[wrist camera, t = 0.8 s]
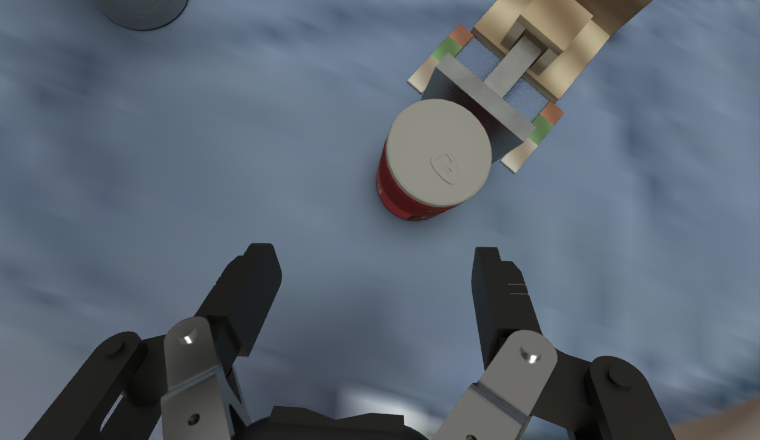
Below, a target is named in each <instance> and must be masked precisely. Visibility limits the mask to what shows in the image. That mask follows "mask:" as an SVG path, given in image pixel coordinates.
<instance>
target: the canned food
mask: <svg viewBox="0 0 760 440" xmlns="http://www.w3.org/2000/svg"><path fill="white" fill-rule="evenodd" d="M491 161H492V154H491V146H490V142H489V138H488V136H487V133H486V131H485V129H484V127H483V126H482V125H481V123H480V122H479V120H478V119H477V118H476V117H475V116H474V115H473V114H472V113H471V112H470V111H468V110H467V109H465V108H464V107H463V106H460V105H458V104H456V103H454V102H451V101H447V100H443V99H429V100H422V101H420V102H417V103H414V104H412V105H411V106H409V107H407V108H406V109H405V110H404V111H403V112H402V113H401V114H399V115H398V117H397V118H396V120H395V121H394V123H393V124H392V126H391V128H390V130H389V133H388V135H387V138H386V141H385V144H384V148H383V152H382V155H381V159H380V163H379V166H378V170H377V175H376V185H377V190H378V193H379V196H380V198H381V200H382V202H383V203H384V205H385V206H386V207H387V208H388V209H389V210H390V211H391V212H392V213H394V214H395V215H397V216H398V217H401V218H403V219H406V220H410V221H422V220H427V219H429V218H432V217H434V216H436V215H438V214H441V213H443V212H445V211H447V210H449V209H451V208H453V207H456V206H458V205H460V204H461V203H463V202H465V201H467V200H468V199H469V198H471V197H472V196H474V194H476V193H477V192H478V190H479V189H480V188H481V187H482V186H483V184H484V183H485V181H486V179H487V177H488V174H489V171H490V168H491Z"/></svg>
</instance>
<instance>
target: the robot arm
mask: <svg viewBox="0 0 760 440" xmlns="http://www.w3.org/2000/svg"><path fill="white" fill-rule="evenodd" d="M91 1H92V2H93V3H94V4H95V5H96V6H97V7H98V8H99V9H100V10H101V11H102V12H103V13H104V14H105V15H106V16H107V17H108V18H109V19H111V20H112V21H114V22H115V23H117V24H119V25H121V26H124V27H127V28H131V29H137V30H148V29H153V28H158V27H160V26H162V25H165V24H167V23H169V22H170V21H172V20H173V19H175V18H176V17H177V16H178V15H179V14H180V13H181V11H182V10H183V8H184V7H185V5H186V3H187V0H91ZM281 280H282V272H281V268H280V265H279V262H278V259H277V256H276V253H275V250H274V247H273V245H272V244H270V243H252V244H250V245H249V247H248V248H247V250H246V252H245V253H244V255H243V256H238V257H236V258H235V259H234V260H233V261H232V262H230V263H229V264H228V265H227V267H226V268H225V270H224V271H223V273H222V274H221V277H219V279H218V280H217V282H216V285H214V287H213V288H212V290H211V291H210V293H209V294H208V296H207V297H206V299H205V300H204V302H203V303H202V305H201V306H200V308H199V309H198V311H197V312H196V314H195V315H194V317H190V318H187V319H184V320H182V321H180V322H179V323H177V324H176V325H175V326H173V327H172V328H171V329H170V330H169V332H168V333H167V334H166V335H161V336H157V337H153V338H149V339H145V340H142V339H141V338H140V337H139V336H138V335H137V334H136V333H135V332H129V331H128V332H122V333H119V334H116V335H114V336H112V337H110V338H108V339H107V340H105V341H104V342H102V343H101V344H100V345H99V346H98V347H97V348H96V349H95V350H94V352H93V353H92V354H91V355H90V357H89V358H88V359H87V360H86V362H85V363H84V364H83V365H82V367H81V368H80V369H79V371H78V372H77V373H76V374H75V376H74V377H73V378H72V379H71V381H70V382H69V383H68V384H67V386H66V387H65V388H64V389H63V391H62V392H61V393H60V394H59V396H58V397H57V398H56V399H55V401H54V402H53V403H52V405H51V406H50V407H49V408H48V410H47V411H46V412H45V413H44V415H43V416H42V417H41V418H40V420H39V421H38V422H37V423H36V425H35V426H34V427H33V428H32V430H31V431H30V432H29V433H28V435H27V436H26V437H25V438H24V440H148V439H149V437H150V435H151V433H152V431H153V429H154V427H155V426H156V424H157V422H158V420H159V418H160V416H161V414H162V428H163V440H429V439H428V438H426V437H425V436H424V435H422V434H421V433H420V432H418V431H416V430H414V429H412V428H410V427H408V426H405V425H404V415H393V414H379V413H368V414H363V415H358V416H353V417H348V418H343V419H338V420H335V419H331V418H329V417H326V416H324V415H321V414H319V413H316V412H313V411H311V410H308V409H306V408H297V407H283V406H274V407H273V410H272V413H271V416H269V417H266V418H263V419H260V420H258V421H256V422H254V423H252V421H251V419H250V417H249V415H248V412H247V409H246V406H245V402H244V399H243V395H242V391H241V388H240V384H239V381H238V377H237V373H236V370H235V367H234V365H233V363H234V361H235V359H236V357H237V356H245V357H249V354H250V352H251V350H252V348H253V345H254V343H255V341H256V339H257V337H258V334H259V332H260V330H261V328H262V325H263V323H264V321H265V319H266V316H267V314H268V312H269V310H270V307H271V305H272V303H273V301H274V298H275V296H276V294H277V292H278V289H279V287H280V285H281ZM471 285H472V295H473V301H474V307H475V313H476V319H477V326H478V332H479V338H480V344H481V351H482V357H483V363H484V369H485V372H484V374H483V375H482V377H481V378H480V379H479V381H478V382H477V383H472V384H471V385H470V386H469V388H468V389H467V390H466V391H465V393H464V394H463V396H462V397H461V399H460V400H459V401H458V403H457V404H456V406H455V407H454V409H453V410H452V411H451V413H450V414H449V416H448V417H447V419H446V420H445V421H444V423H443V424H442V426H441V427H440V428H439V430H438V431H437V433H436V434H435V436H434V437H433V438H432V440H520V439H521V437H522V435H523V433H524V431H525V429H526V427H527V425H528V423H529V422H530V420H531V418H532V416H533V415H534V416H536V417H539V418H541V419H544V420H546V421H548V422H551V423H553V424H556V425H558V426H561V427H563V428H566V429H567V433H568V437H569V440H676V439H675V437H674V435H673V433H672V431H671V429H670V427H669V425H668V423H667V420H666V418H665V416H664V414H663V412H662V410H661V408H660V406H659V404H658V402H657V400H656V398H655V396H654V394H653V392H652V390H651V388H650V385H649V383H648V382H647V380H646V378H645V377H644V376H643V374H642V373H641V372H640V371H639V370H638V369H637V368H635V367H634V366H633V365H631V364H630V363H628V362H626V361H625V360H622V359H620V358H617V357H613V356H600V357H597V358H596V359H594V360H593V361H592V362H588V361H585V360H582V359H579V358H576V357H573V356H570V355H567V354H565V353H563V352H561V351H559V350H557V349H556V348H554V346H553V345H552V343H551V342H550V341H549V340H548V339H547V338H545V337H544V336H543V334H542V332H541V329H540V326H539V323H538V320H537V317H536V314H535V311H534V308H533V305H532V302H531V299H530V296H529V295H528V290H527V287H526V286H525V281H524V278H523V276H522V273H521V271H520V270H519V269H518V268H517V266H516V265H515V264H514V263H513V262H512V261H501V259H500V255H499V251H498V249H497V247H476V249H475V255H474V262H473V270H472V279H471ZM120 394H121V395H122V396H123V397H122V399H121V401H120V402H119V404H118V405H117V407H116V408H115V410H114V412H113V413H112V415H111V416H110V418H109V419H108V421H107V422H106V424H105V426H104V427H103V429H102V430H101V432H100V428H101V425H102V422H103V420H104V418H105V417H106V415H107V414H108V412H109V411H110V409H111V408H112V406H113V405H114V403H115V402H116V400H117V398H118V397H119V395H120Z"/></svg>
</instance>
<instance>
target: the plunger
mask: <svg viewBox="0 0 760 440" xmlns="http://www.w3.org/2000/svg"><path fill="white" fill-rule="evenodd" d="M542 51H543V50H541V49H540V48H539V47H538V46H537V45H535V44H534V43H533V42H532V41H531V40H530V39H528V38H527V37H526V36H525V35H524V36H523V37H522V38H521V39H520V40H519V41H518V43H517V44H516V45H515V46H514V47H513V48H512V50H511V51H510V52H509V53H508V54H507V55H506V56H505V58H504V59H503V60H502V61H501V62H500V63H499V64H498V66H497V67H496V68H495V69H494V70H493V71H492V72H491V74H490V75H489V76H488V77H487V78H486V79H485V81H484V82H483V81H481V80H480V79H479V78H478V77H477V76H475V75H474V74H473V73H472V72H471V71H470V70H468V69H467V68H466V67H465V66H464V65H463V64H461V63H460V62H459V61H458V60H457V59H456V58H454V57H453V56H452V55H451V54H450V53H449V52H448V53H447V54H446V55H445V57H444V58H443V59H442V60H441V61H440V62H439V63H438V64H437V65H436V66H435V69H434V71H433V73H432V76H431V78H430V80H429V82H428V85H427V87H426V89H425V91H424V94H423V96H422V98H421V101H422V100H429V99H443V100H447V101H451V102H454V103H456V104H458V105H460V106H463V107H464V108H465V109H467V110H468V111H470V112H471V113H472V114H473V115H474V116H475V117H476V118H477V119H478V120H479V122H480V123H481V125H482V126H483V127H484V129H485V131H486V133H487V136H488V138H489V142H490V146H491V154H492V161H491V164H492V163H494V162H495V161H497V160H498V159H500V158H501V157H503V156H504V155H506V154H507V153H509V152H510V151H512V150H513V149H515V148H516V147H518V146H519V145H521V144H522V143H524V142H525V141H526V140H527V138H528V137H529V136H530V135H531V133H532V132H533V131H534V130H535V129H536V127H535V126H534V125H533V124H532V123H531V122H529V121H528V120H527V119H526V118H525V117H524V116H522V115H521V114H520V113H519V112H518V111H516V110H515V109H514V108H513V107H512V106H511V105H509V104H508V103H507V102H506V101H505V100H504V99H502V98H503V97H504V95H505V94H506V93H507V92H508V91H509V90H510V88H511V87H512V86H513V85H514V84H515V83H516V81H517V80H518V79H519V78H520V77H521V76H522V74H523V73H524V72H525V71H526V70H527V68H528V67H529V66H530V65H531V64H532V63H533V61H534V60H535V59H536V58H537V57H538V56H539V54H540V53H541V52H542Z"/></svg>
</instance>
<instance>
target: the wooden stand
mask: <svg viewBox="0 0 760 440" xmlns="http://www.w3.org/2000/svg"><path fill="white" fill-rule="evenodd" d="M651 1H652V0H498V1H497V2H496V3H495V4H494V5H493V6H492V7H491V8H490V9H489V10H488V12H487V13H486V14H485V15H484V16H483V17H482V18H481V19H480V20H479V22H478V23H477V24H476V25H475V26H474V27H473V29H472V31H471V33H470V32H469V31H468V30H467V29H466V28H465V27H463V26H462V25H461V24H459V25H458V26H457V27H456V28H455V29H454V30H453V32H452V33H451V34H450V35H449V36H448V37H447V38H446V39H445V40H444V41H443V42H442V44H441V45H440V46H439V47H438V48H437V49H436V50H435V51H434V52H433V53H432V54H431V56H430V57H429V58H428V59H427V60H426V61H425V62H424V63H423V64H422V65H421V66H420V68H419V69H418V70H417V71H416V72H415V73H414V74H413V75H412V76H411V77H410V78H409V80H408V81H407V82H408V83H409V84H410V85H411V86H412V87H414V88H415V89H416V90H417V91H418V92H419V93H421V94H422V93H423V92H424V91H425V89H426V87H427V85H428V82H429V80H430V78H431V76H432V73H433V71H434V69H435V66H436V65H437V64H438V63H439V62H440V61H441V60H442V59H443V58H444V57H445V55H446V54H447V53H448V52H449V53H450V54H451V55H452V56H453V57H455V56H456V55H457V54H458V53H459V52H460V51H461V50H462V49H463V47H464V46H465V45H466V44H467V43H468V42H469V41H470V40H471V39H472V37H473V36H475V37H476V38H477V39H478V40H479V41H480V42H482V43H483V44H484V45H485V46H486V47H488V48H489V49H490V50H491V51H492V52H493V53H495V54H496V55H497V56H498V57H499V58H500V59H502V60H503V59H504V58H505V56H506V55H507V54H508V53H509V52H510V51H511V50H512V48H513V47H514V46H515V45H516V44H517V43H518V41H519V40H520V39H521V38H522V37H523V36H524V35H525V36H526V37H527V38H528V39H530V40H531V41H532V42H533V43H534V44H535V45H537V46H538V47H539V48H540V49H541V50H543V51H542V52H541V53H540V54H539V56H538V57H537V58H536V59H535V60H534V61H533V63H532V64H531V65H530V66H529V67H528V68H527V70H526V71H525V72H524V73H523V74H522V77H523V78H524V79H525V80H526V81H527V82H529V83H530V84H531V85H532V86H533V87H534V88H536V89H537V90H538V91H539V92H540V93H541V94H543V95H544V96H545V97H546V98H547V99H549V100H550V101H549V102H548V103H547V105H546V106H545V107H544V108H543V110H542V111H541V112H540V113H539V114H538V116H537V117H536V118H535V119H534V120H533V122H532V124H533V125H534V126H535V127H536V129H535V130H534V131H533V132H532V133H531V135H530V136H529V137H528V138H527V140H526V141H525V142H524V143H522V144H521V145H519V146H518V147H516V148H515V149H513V150H512V151H510V152H509V153H507V154H506V155H505V156H504V157H503V158H502V159H501V161H500V162H501V163H502V164H504V165H505V166H506V167H507V168H508V169H509V170H511V171H512V172H513V173H516V172H517V170H518V169H519V168H520V167H521V165H522V164H523V163H524V162H525V161H526V159H527V158H528V157H529V156H530V154H531V153H532V152H533V151H534V149H535V148H536V147H537V146H538V144H539V143H540V142H541V141H542V140H543V138H544V137H545V136H546V135H547V133H548V132H549V131H550V130H551V128H552V127H553V126H554V125H555V123H556V122H557V121H558V120H559V119H560V117H561V116H562V115H563V114H564V112H563V111H562V110H561V109H560V108H558V107H557V106H556V105H555V104H554V103H555V102H556V101H557V100H559V99H560V97H561V96H562V95H563V94H564V92H565V91H566V90H567V89H568V88H569V86H570V85H571V84H572V83H573V81H574V80H575V79H576V78H577V77H578V75H579V74H580V73H581V72H582V70H583V69H584V68H585V67H586V66H587V64H588V63H589V62H590V61H591V59H592V58H593V57H594V56H595V55H596V53H597V52H598V51H599V50H600V48H601V47H602V46H603V45H604V44H605V42H606V41H607V40H608V39H609V37H610V36H611V35H613V34H614V33H615V32H616V31H617V30H618V29H620V28H621V27H622V26H623V25H624V24H625V23H627V22H628V21H629V20H630V19H631V18H633V17H634V16H635V15H636V14H637V13H638V12H640V11H641V10H642V9H643V8H644V7H645V6H647V5H648V4H649V3H650V2H651Z"/></svg>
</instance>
